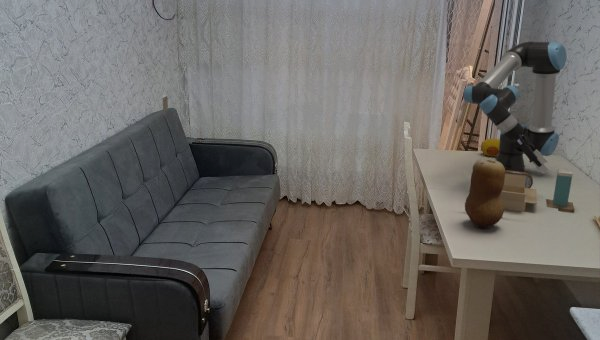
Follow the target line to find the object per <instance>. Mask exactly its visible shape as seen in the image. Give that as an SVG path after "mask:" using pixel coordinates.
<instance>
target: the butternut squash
mask: <svg viewBox="0 0 600 340" xmlns="http://www.w3.org/2000/svg"><path fill="white" fill-rule="evenodd" d="M504 180H505V168H504V166H503V164H502V163H500V162H498V161H496V159H495V160H494V159H487V158H480V159H478V160H477V161H476V162H475V163H474V164H473V166H472V171H471V177H470V188H469V191H468V195H467V197H466V198H465V202H464V211H465V213H466V214H467V216H468V218H469V220H470V221H471V222H472V223H473V224H474V226H475V227H477V228H479V229H483V228H484V229H486V228H490V227H493V226H495V225H497V224H498V223H499V222H500V220H501V219H502V217H503V216H504V209H503V203H502V200H501V196H500V195H501V191H502V189H503V186H504Z"/></svg>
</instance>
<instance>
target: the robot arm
mask: <svg viewBox="0 0 600 340" xmlns="http://www.w3.org/2000/svg"><path fill="white" fill-rule="evenodd" d="M566 63H567V51H566V47H565V46H564V44H563V43H560V42H553V41H524V42H521V43H519V44H516V45H514V46H512V47H511V48H510V49H508V50H507V51H506V52H505V53H504V54H503V55H502V56H501V60H500V61H498V63H497V64H495V66H494V67H493V68H491V70H490V71H488V73H487V74H486V75H485V76H484V77H482V79H481V80H480V81H479V82H478V83H477V84H476V85H468V86H466V87H465V88H464V90H463V93H462V94H463V100H464V102H466V103H469V104H475V105H479V108H480V110H481V111H482V112H483V114H484V115H486V116H487V118H488V119H489V120H490V121H491V123H493V124H494V126H496V130H497V131H498V130H499V132H500V134H499V135H500V138H499V139H500V144H499V152H498V155H497V157H495V160H496V161H498V162H500V163H502V164H503V166H504V168H505V170H510V171H519V172H525V170H526V165H525V161H524V155H525V156H526V157H527V158H528V161H529V163H530V164H531V163H533V164H534V165H535V167H536V168H537V169H538V170H539V172H541V174H542V175H545V173H547V172H548V171H550V169H549V168H548V167H547V166H546V164H545V163H547V162H548V160H547V159H546V158H545V157H550V156H551V155H552V154H553V153H554V152H555V150H556V148H557V147H558V144H559V140H560V139H559V138H560V136H559V133H557V132H556V131H555V130H556V129H555V128H556V127H554V126H553V125H552V123H553V115H554V114H553V111H554V99H555V91H556V89H555V88H556V78H557V75H558V74H560V73H561V70H563V69H564V67H565V66H566ZM525 67H526V68H532V71H531V73H532V74H533V75H534V76H535V79H534V80H535V81H534V88H533V89H534V92H533V105H532V118H531V120H532V121H531V124H530V125H529V126H528V125H527V124H521V123H519V122H518V120H517V119H516V118H515V117H514V116H513V114H512V113H511V112H510V111H509V109H510V108H511V107H512V106H513V105H514V104H515V103H516V102H517V101H518V100H519V97H520V92H519V89H518V88H517V87H515V86H514V85H507V86H505V87H503V88H499V86H500V85H502V84H503V83H504V82H505V80H507V79H508V78H509V76H511V74H513V72H514V71H515V72H516V71H518V70H519V69H520V68H525Z"/></svg>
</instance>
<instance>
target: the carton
mask: <svg viewBox="0 0 600 340" xmlns="http://www.w3.org/2000/svg"><path fill="white" fill-rule="evenodd" d="M525 180H526V176H518V175H509V174H505V180H504V186H503V189H502V191H501V195H500V196H501V200H502V203H503V210H509V211H510V210H511V211H515V212H516V211H517V212H521V213H522V212H525V211H526V205H527V204H533V205H538V196H537V194H538V193H537V189H536V188H532V187H531V188H525Z"/></svg>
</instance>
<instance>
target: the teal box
mask: <svg viewBox="0 0 600 340" xmlns="http://www.w3.org/2000/svg"><path fill="white" fill-rule="evenodd" d="M556 172H557V173H556V174H557V175H556V178H555V186H554V191H553V193H554V194H553V199H552V200H553V205H555V206H562V207H567V204H568V202H569V198H570V193H571V192H570V191H571V185H572V179H573V176H574V175H573V170H568V169H559V168H558V169H557V171H556Z"/></svg>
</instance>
